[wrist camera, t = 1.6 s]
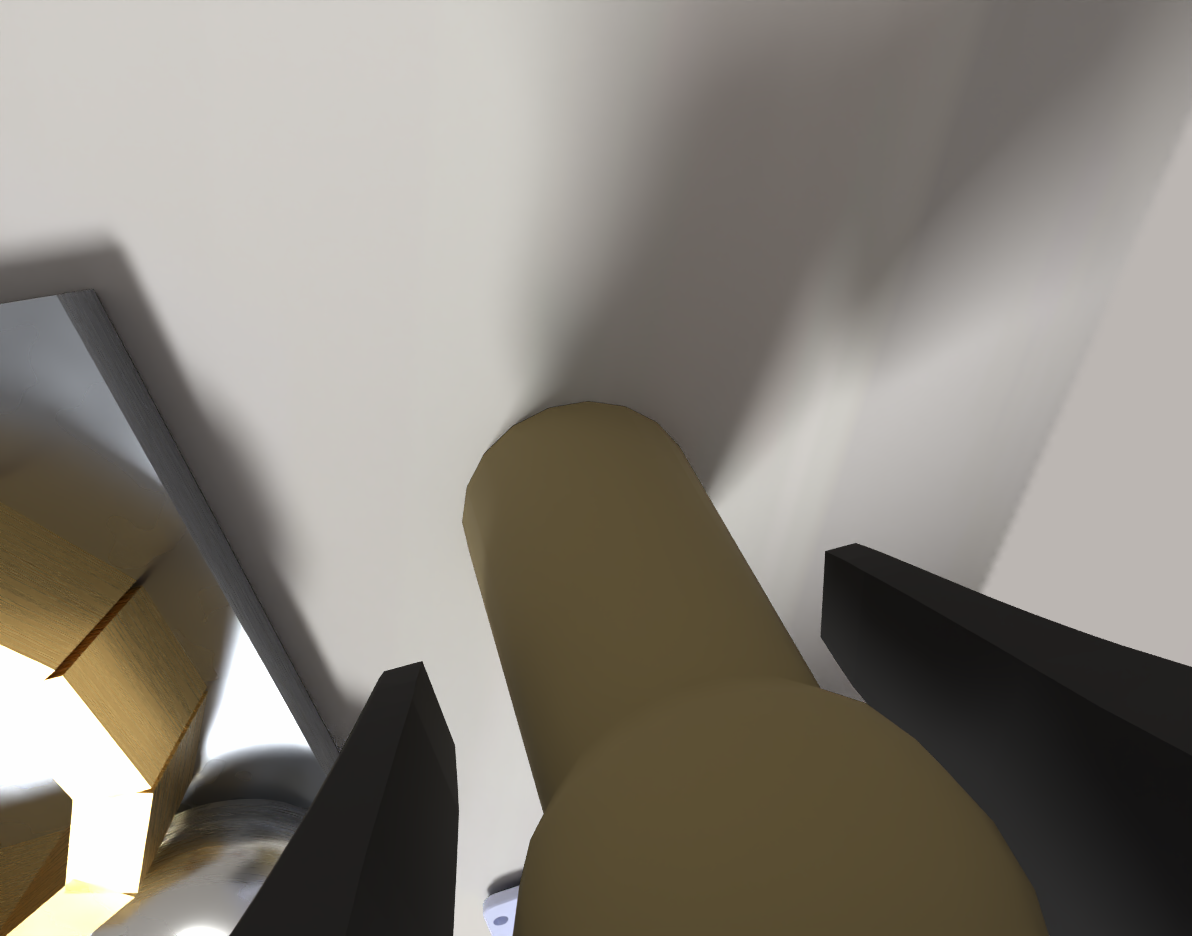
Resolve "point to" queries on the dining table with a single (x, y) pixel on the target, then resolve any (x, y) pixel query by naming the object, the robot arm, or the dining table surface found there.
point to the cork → (698, 720)
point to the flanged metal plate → (128, 660)
